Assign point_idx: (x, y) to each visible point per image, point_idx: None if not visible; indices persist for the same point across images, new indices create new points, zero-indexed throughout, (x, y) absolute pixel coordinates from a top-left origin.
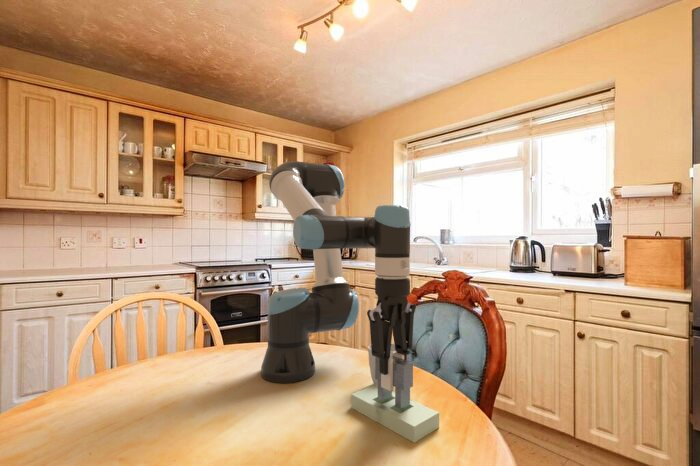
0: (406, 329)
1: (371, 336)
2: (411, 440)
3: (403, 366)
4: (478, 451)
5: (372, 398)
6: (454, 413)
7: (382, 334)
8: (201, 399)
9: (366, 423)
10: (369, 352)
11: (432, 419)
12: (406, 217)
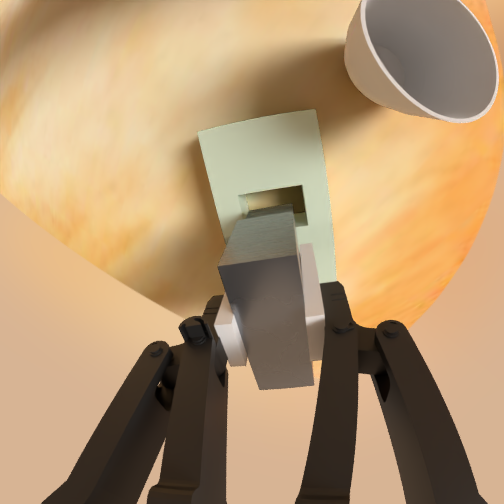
0: (399, 438)
1: (106, 420)
2: None
3: (259, 387)
4: None
5: (242, 189)
6: (403, 286)
7: (151, 463)
8: (10, 30)
9: (206, 217)
10: (357, 12)
11: None
12: None
